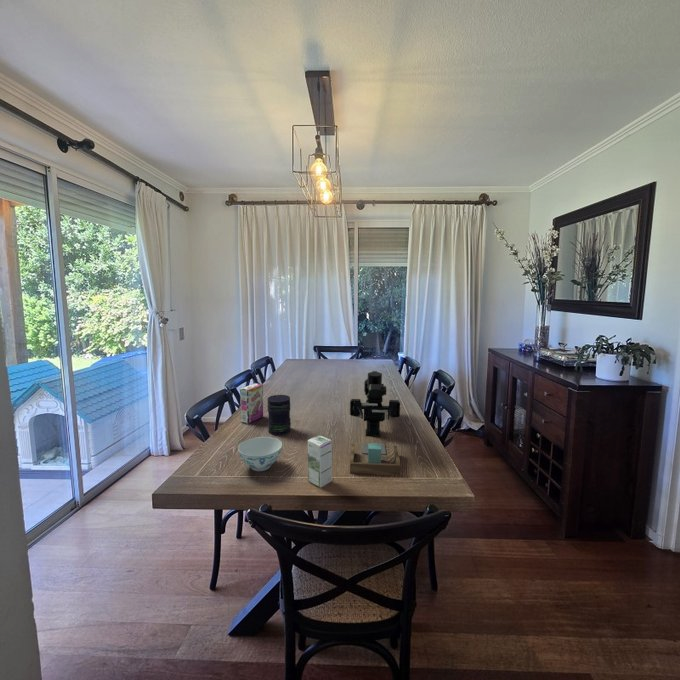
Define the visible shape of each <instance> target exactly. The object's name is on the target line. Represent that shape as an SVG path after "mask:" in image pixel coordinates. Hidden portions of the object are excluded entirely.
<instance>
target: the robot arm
mask: <svg viewBox="0 0 680 680" xmlns="http://www.w3.org/2000/svg"><path fill="white" fill-rule="evenodd" d="M363 387H364V390H363V391H364V395H365V396H366V401H365V402H362V400H361V398H351V399H350V402H349V415H350V416H351V417H356V418H358V419H363V422H366V428H365V436H366V437H369V436H370V437H381V436H382V431H381V422H382V423H384V421H385V420H386V419H385V417H386V413H387V420H391V419H395V418H399V417H400V416H401V415H400V414H401V412H400V411H401V401H400V400H397V399H389V401H388V405H383V402H384V401H383V400H384V399H383V398H384V396H387V386H386V385H384V383H383V373H382V372H379V371H377V370H373V371H371V372H368V373H367V378H366V380H364V386H363Z"/></svg>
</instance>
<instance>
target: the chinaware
mask: <svg viewBox="0 0 680 680" xmlns="http://www.w3.org/2000/svg"><path fill="white" fill-rule="evenodd" d="M282 449H283V443H282V441H281V440H279V439H278V438H276V437H270V436H258V437H252V438H249V439H246V440H244V441H242V442H241V443H240V444H239V445H238V447H237V451H238V454H239V458H240V459H241V460H242V462H243V463H244V464H245V465H246V466H248V467H249V468H251V470H253V471H255V472H263V471H266V470H269V469H270V468H271V466H272V465H273V464H274V463H275V462H276V461H277V459H279V457H280V455H281V451H282Z"/></svg>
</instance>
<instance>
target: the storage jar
mask: <svg viewBox="0 0 680 680" xmlns="http://www.w3.org/2000/svg"><path fill="white" fill-rule="evenodd" d="M267 412H268V414H267V415H268V420H267V427H268V434H269V435H271V436H285V435H287V434H289V433H291V431H292V430H291V397H290V396H289V395H286V394H275V395H271V396H268V397H267Z"/></svg>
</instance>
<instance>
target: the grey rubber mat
mask: <svg viewBox="0 0 680 680" xmlns="http://www.w3.org/2000/svg"><path fill="white" fill-rule="evenodd" d="M368 443H369V442H362V443H361V444H362V447H361V449H362V450H361V451H362V452H361V454H362V455H368ZM378 444H381V456H382V455H383V456H386V455H387V452H386V450H387V449H386V444H385V443H381V442H379V443H378Z"/></svg>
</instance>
